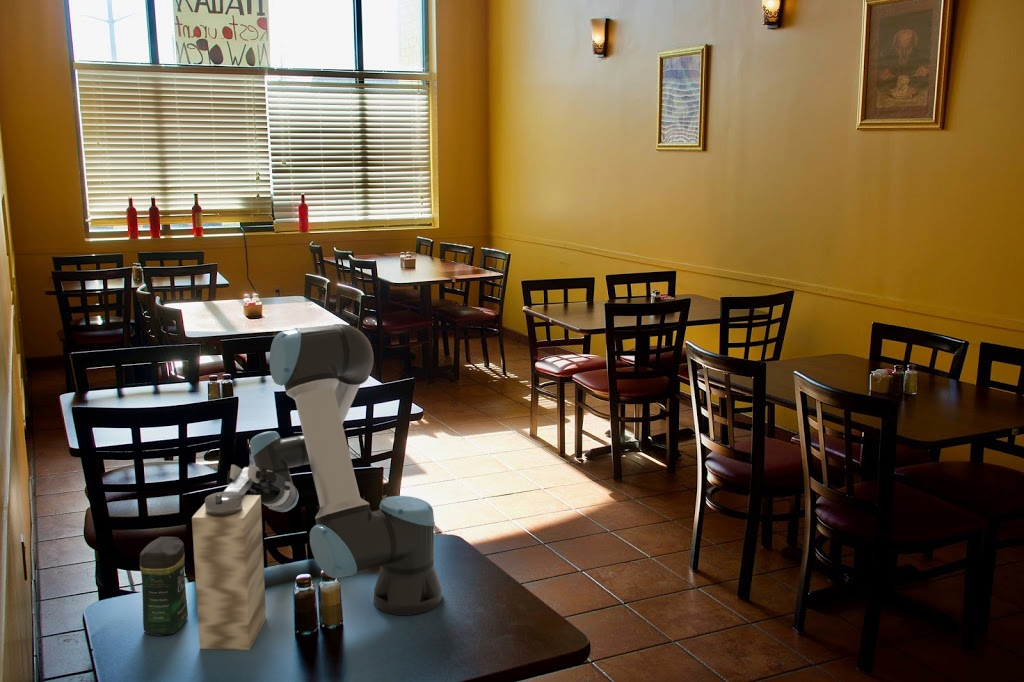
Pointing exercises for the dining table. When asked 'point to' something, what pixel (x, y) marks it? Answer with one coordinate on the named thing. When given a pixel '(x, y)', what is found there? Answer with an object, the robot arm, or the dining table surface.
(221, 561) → the birch pedestal
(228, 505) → the pin spanner
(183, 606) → the coffee jar
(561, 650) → the dining table surface
